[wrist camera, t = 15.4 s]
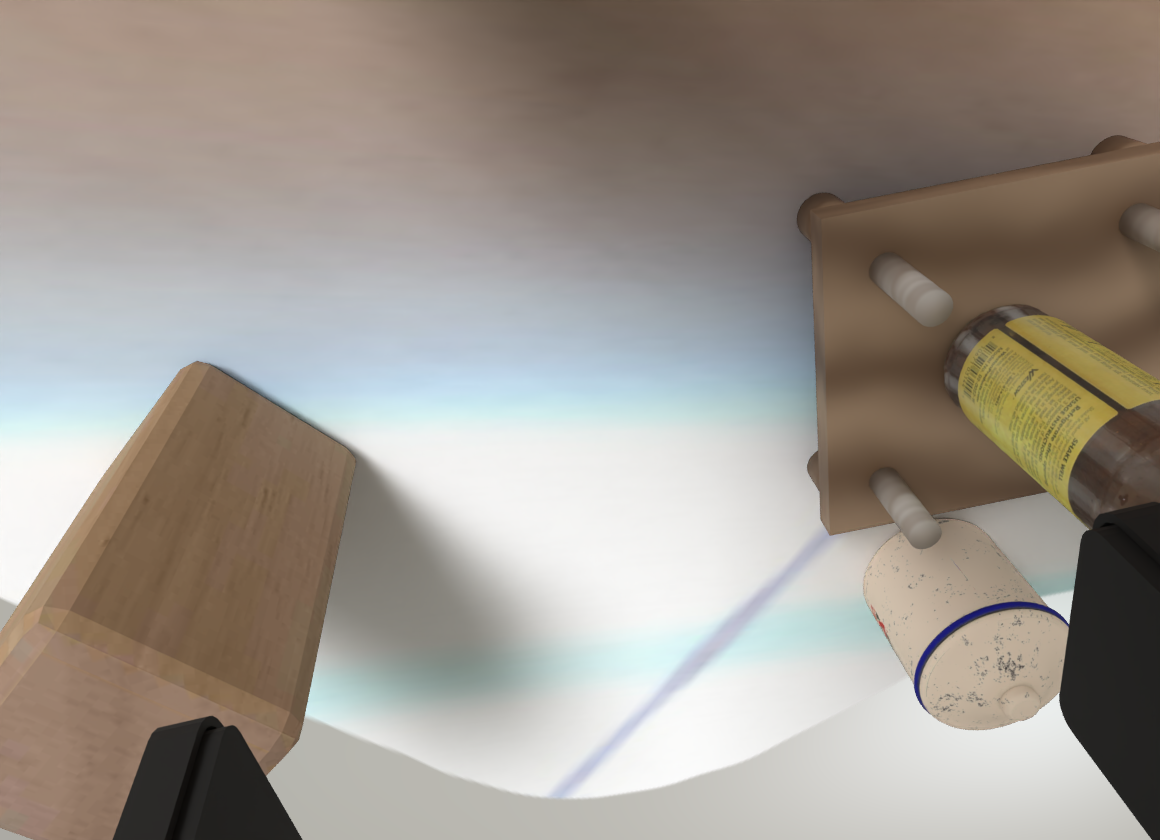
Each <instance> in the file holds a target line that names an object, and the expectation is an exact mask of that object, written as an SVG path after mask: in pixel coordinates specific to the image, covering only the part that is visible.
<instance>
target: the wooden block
mask: <svg viewBox="0 0 1160 840" xmlns="http://www.w3.org/2000/svg"><path fill="white" fill-rule="evenodd" d="M355 464H356V460H355V458H354V456H353V455H352V454H351V453H350V451H349V450H348V449H347V448H346V447H344V446H343V445H341V444H339V443H338V442H336V441H334V440H333V439H331V438H329V437H328V436H326V435H325V434H323V433H321V432H320V431H318V430H316V429H315V428H313V427H311V426H310V425H308V424H307V423H305V422H303V421H302V420H300V419H298V418H297V417H295V416H294V415H292V414H290V413H289V412H287V411H285V410H284V409H282V408H280V407H279V406H277V405H276V404H274V403H272V402H271V401H269V400H267V399H266V398H264V397H262V396H261V395H259V394H258V393H256V392H254V391H253V390H251V389H249V388H248V387H246V386H244V385H243V384H241V383H240V382H238V381H236V380H235V379H233V378H231V377H230V376H228V375H227V374H225V373H223V372H222V371H220V370H218V369H217V368H215V367H213V366H212V365H210V364H207V363H203V362H199V361H196V362H194V363H192V364H190V365H188V366H186V367H184V368H183V369H181V370H180V371H179V372H178V374H177V375H176V377H175V378H174V379H173V381H172V382H171V383H170V385H169V386H168V387H167V389H166V390H165V392H164V393H163V394H162V396H161V397H160V398H159V400H158V401H157V403H156V404H155V405H154V407H153V408H152V409H151V411H150V412H149V414H148V415H147V416H146V418H145V419H144V420H143V422H142V423H141V425H140V426H139V427H138V429H137V430H136V431H135V433H134V434H133V436H132V437H131V438H130V440H129V441H128V442H127V444H126V445H125V447H124V448H123V449H122V451H121V452H120V453H119V455H118V456H117V458H116V459H115V460H114V462H113V463H112V464H111V466H110V467H109V468H108V470H107V471H106V473H105V474H104V475H103V477H102V478H101V480H100V481H99V483H98V484H97V486H96V487H95V489H94V490H93V492H92V493H91V495H90V496H89V498H88V499H87V501H86V502H85V504H84V505H83V507H82V509H81V510H80V512H79V513H78V515H77V516H76V518H75V519H74V521H73V522H72V524H71V525H70V527H69V528H68V530H67V531H66V533H65V535H64V536H63V538H62V539H61V541H60V542H59V544H58V545H57V547H56V548H55V550H54V551H53V553H52V554H51V556H50V557H49V559H48V561H47V562H46V564H45V565H44V567H43V568H42V570H41V571H40V573H39V574H38V576H37V577H36V579H35V580H34V582H33V583H32V585H31V587H30V588H29V590H28V591H27V593H26V594H25V596H24V597H23V599H22V600H21V602H20V603H19V605H18V606H17V608H16V609H15V611H14V613H13V614H12V616H11V617H10V619H9V620H8V622H7V623H6V625H5V626H4V628H3V629H2V631H1V633H0V828H2V829H5V830H8V831H11V832H14V833H16V834H20V835H22V836H25V837H28V838H31V839H33V840H112V839H113V837H114V834H115V831H116V828H117V826H118V823H119V820H120V817H121V814H122V812H123V809H124V806H125V803H126V801H127V798H128V795H129V792H130V789H131V787H132V784H133V781H134V778H135V776H136V773H137V770H138V767H139V764H140V762H141V759H142V756H143V753H144V751H145V748H146V745H147V742H148V740H149V738H150V736H151V734H152V733H153V732H154V731H155V730H156V729H157V728H159V727H163V726H168V725H172V724H177V723H181V722H186V721H190V720H194V719H199V718H203V717H208V716H214V717H216V718H218V719H219V721H220V722H221V723H222V724H223V726H224V727H226V726H230V725H234V726H235V727H237V728H238V730H239V731H240V732H241V734H242V736H243V737H244V739H245V741H246V743H247V744H248V746H249V748H250V750H251V751H252V753H253V755H254V757H255V758H256V760H257V762H258V763H259V765H260V767H261V769H262V770H263V772H264V774H265V776H266V775H267V774H268V773H269V772H270V771H271V770H272V769H273V768H274V767H275V766H276V765H277V764H278V763H279V762H280V761H281V760H282V759H283V757H285V755H286V754H287V753H288V752H289V751H290V750H291V749H292V748H293V746H294V745H295V744H296V743H297V742H298V740H299V737H300V733H301V730H302V725H303V721H304V716H305V711H306V706H307V702H308V697H309V692H310V687H311V682H312V677H313V672H314V667H315V662H316V657H317V652H318V647H319V642H320V637H321V632H322V627H323V622H324V617H325V613H326V608H327V603H328V598H329V593H330V588H331V583H332V578H333V573H334V568H335V563H336V558H337V553H338V548H339V543H340V538H341V533H342V528H343V524H344V519H345V514H346V509H347V504H348V499H349V494H350V489H351V484H352V479H353V474H354V469H355Z"/></svg>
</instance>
